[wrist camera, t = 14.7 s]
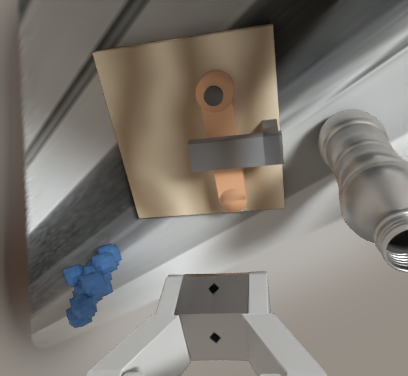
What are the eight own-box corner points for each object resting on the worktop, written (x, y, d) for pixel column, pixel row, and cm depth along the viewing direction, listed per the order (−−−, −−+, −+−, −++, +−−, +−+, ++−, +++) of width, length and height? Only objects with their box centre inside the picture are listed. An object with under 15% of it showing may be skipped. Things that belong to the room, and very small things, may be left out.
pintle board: (272, 23, 36) (275, 31, 30) (284, 201, 45) (287, 231, 40) (97, 50, 39) (72, 62, 34) (142, 211, 48) (128, 240, 43)
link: (195, 73, 37) (191, 78, 35) (231, 67, 36) (229, 72, 35) (220, 204, 44) (219, 214, 42) (251, 201, 43) (250, 211, 42)
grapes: (94, 210, 49) (51, 272, 39) (141, 231, 50) (111, 298, 40) (71, 268, 55) (28, 336, 44) (113, 287, 56) (81, 357, 45)
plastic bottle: (356, 170, 42) (426, 304, 25) (302, 145, 41) (336, 265, 24) (392, 120, 39) (502, 233, 22) (335, 92, 38) (401, 187, 21)
